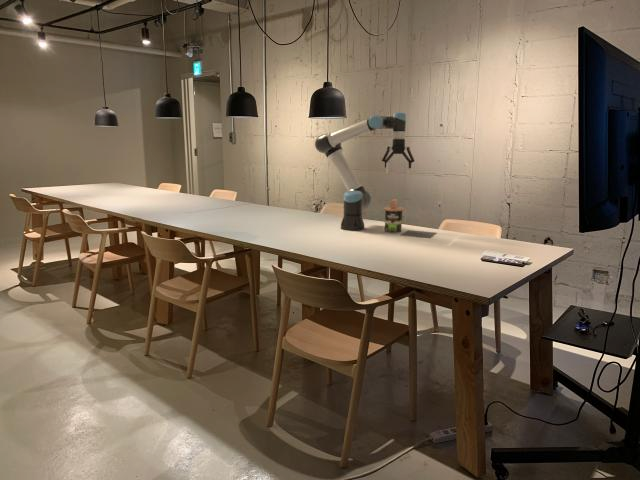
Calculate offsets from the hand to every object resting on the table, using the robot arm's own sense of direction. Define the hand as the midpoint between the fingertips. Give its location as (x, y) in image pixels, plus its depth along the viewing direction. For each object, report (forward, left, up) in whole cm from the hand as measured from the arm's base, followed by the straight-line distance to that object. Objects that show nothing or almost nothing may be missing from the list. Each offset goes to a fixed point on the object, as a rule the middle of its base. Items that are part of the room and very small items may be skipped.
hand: (397, 173), depth 297 cm
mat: (+19, -15, -35) cm, 42 cm away
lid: (+3, -15, -21) cm, 26 cm away
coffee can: (+3, -15, -35) cm, 38 cm away
